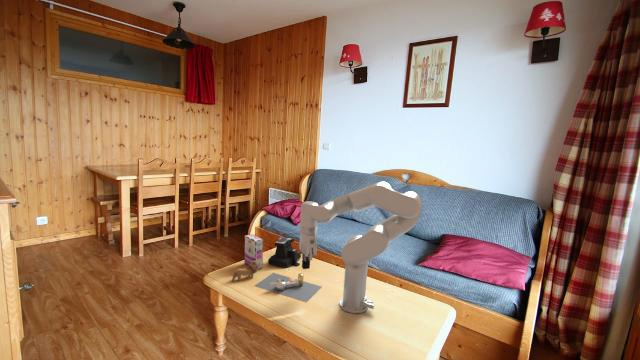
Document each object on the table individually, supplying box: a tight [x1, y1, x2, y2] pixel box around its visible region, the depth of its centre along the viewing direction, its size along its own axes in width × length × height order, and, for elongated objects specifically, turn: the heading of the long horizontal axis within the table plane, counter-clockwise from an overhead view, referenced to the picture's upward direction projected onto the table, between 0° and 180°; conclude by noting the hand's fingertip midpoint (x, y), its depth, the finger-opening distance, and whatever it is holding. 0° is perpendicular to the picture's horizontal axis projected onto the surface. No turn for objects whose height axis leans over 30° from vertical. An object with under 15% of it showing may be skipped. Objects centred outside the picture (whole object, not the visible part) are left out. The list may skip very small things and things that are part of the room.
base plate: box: [254, 272, 323, 303], centre depth 150 cm, size 28×16×1 cm, turn 64°
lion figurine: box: [231, 261, 259, 283], centre depth 155 cm, size 15×5×9 cm, turn 130°
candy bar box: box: [244, 233, 264, 271], centre depth 171 cm, size 11×5×16 cm, turn 44°
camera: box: [267, 236, 302, 269], centre depth 178 cm, size 16×14×15 cm
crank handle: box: [269, 273, 305, 291], centre depth 148 cm, size 16×6×5 cm, turn 114°
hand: (305, 268), depth 143 cm, fingers closed
